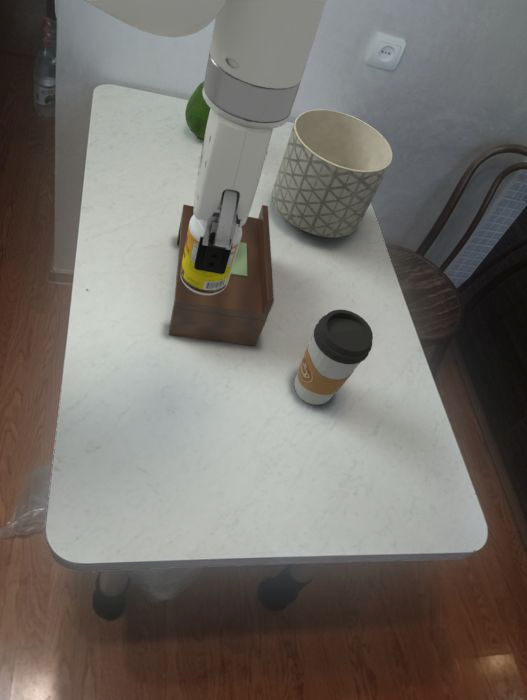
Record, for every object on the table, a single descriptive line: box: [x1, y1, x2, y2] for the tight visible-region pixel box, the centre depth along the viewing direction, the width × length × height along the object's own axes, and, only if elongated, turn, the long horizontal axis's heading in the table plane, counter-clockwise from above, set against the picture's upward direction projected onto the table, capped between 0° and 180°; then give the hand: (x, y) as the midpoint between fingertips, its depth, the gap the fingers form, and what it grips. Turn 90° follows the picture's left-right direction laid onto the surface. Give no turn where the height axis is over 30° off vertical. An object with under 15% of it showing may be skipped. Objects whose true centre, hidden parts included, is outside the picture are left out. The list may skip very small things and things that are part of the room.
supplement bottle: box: [180, 209, 242, 295], centre depth 57 cm, size 6×6×10 cm
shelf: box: [168, 204, 275, 347], centre depth 88 cm, size 14×22×11 cm, turn 2°
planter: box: [271, 108, 394, 239], centre depth 105 cm, size 19×19×18 cm
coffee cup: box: [293, 309, 374, 406], centre depth 79 cm, size 8×8×15 cm
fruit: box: [184, 80, 210, 140], centre depth 114 cm, size 8×8×12 cm
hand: (210, 247), depth 58 cm, fingers closed on supplement bottle, 5 cm apart
